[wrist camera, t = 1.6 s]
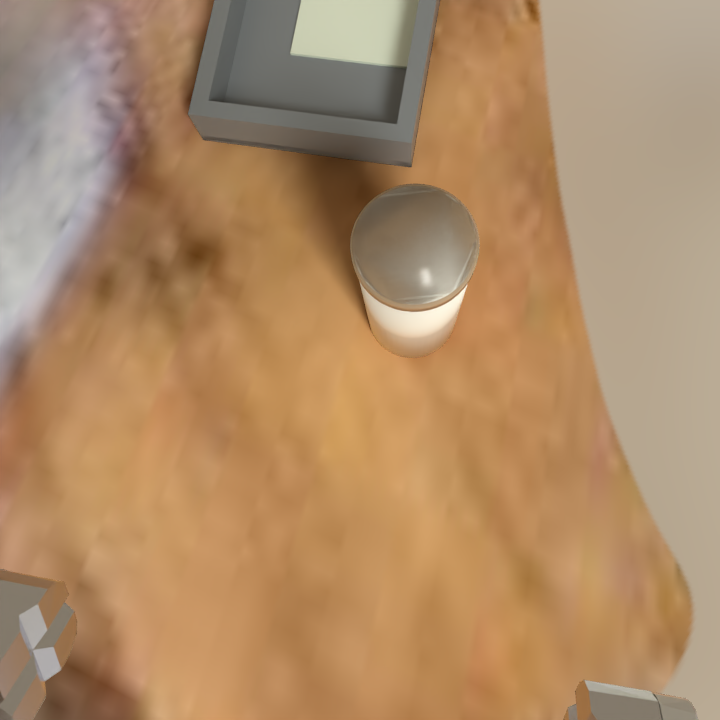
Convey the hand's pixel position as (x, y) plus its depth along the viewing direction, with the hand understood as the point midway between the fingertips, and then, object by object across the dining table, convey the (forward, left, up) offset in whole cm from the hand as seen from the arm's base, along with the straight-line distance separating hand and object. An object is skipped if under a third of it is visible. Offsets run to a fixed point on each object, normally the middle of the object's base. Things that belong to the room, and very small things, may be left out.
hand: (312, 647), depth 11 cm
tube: (0, +12, -27) cm, 29 cm away
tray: (-8, +30, -27) cm, 41 cm away
